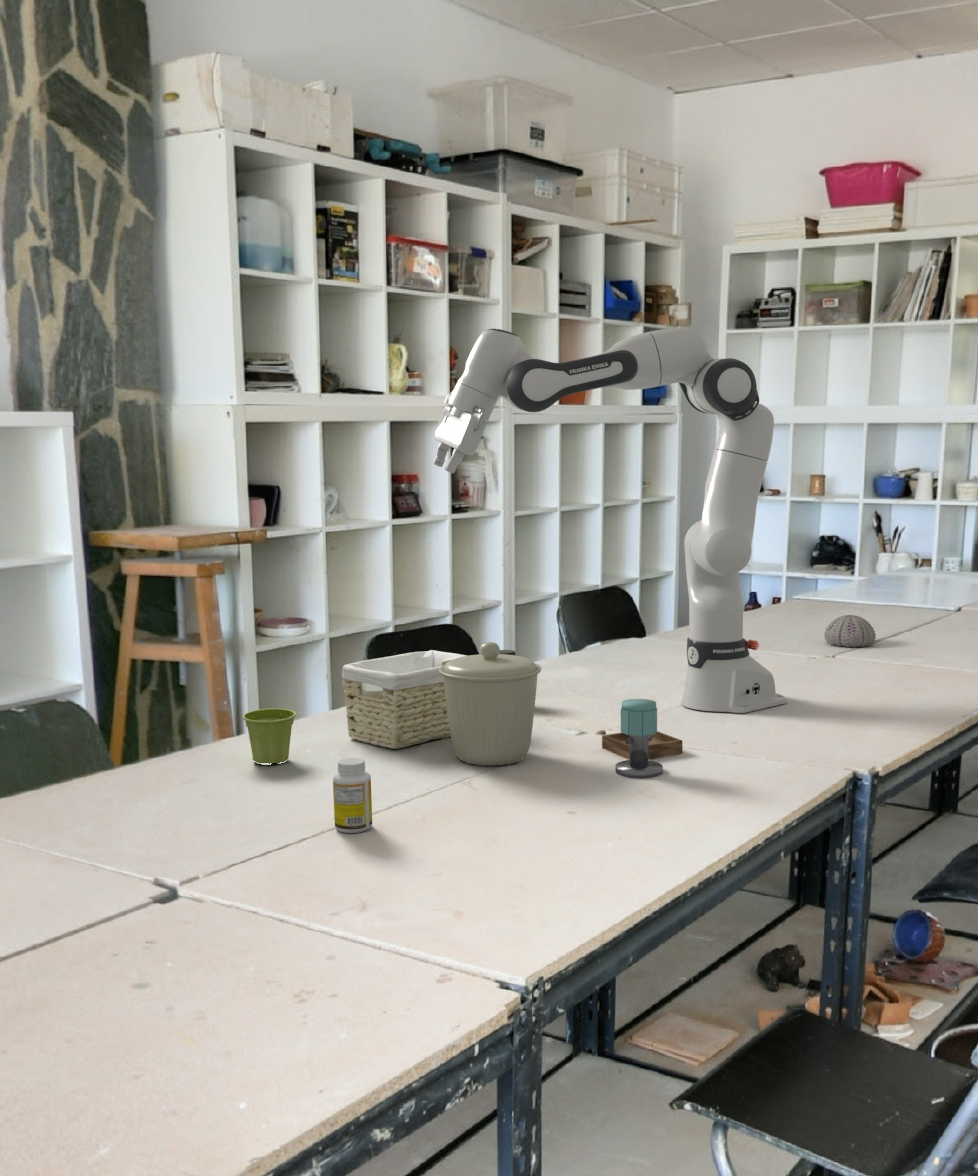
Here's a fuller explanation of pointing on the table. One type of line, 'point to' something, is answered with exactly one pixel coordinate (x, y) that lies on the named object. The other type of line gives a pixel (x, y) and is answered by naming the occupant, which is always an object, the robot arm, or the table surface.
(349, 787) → the supplement bottle
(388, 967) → the table surface
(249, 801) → the table surface
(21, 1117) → the table surface
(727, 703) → the robot arm
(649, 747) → the walnut tray
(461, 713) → the canister
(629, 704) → the cap
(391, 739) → the storage basket
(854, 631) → the sea urchin shell
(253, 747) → the plant pot
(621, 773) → the post
